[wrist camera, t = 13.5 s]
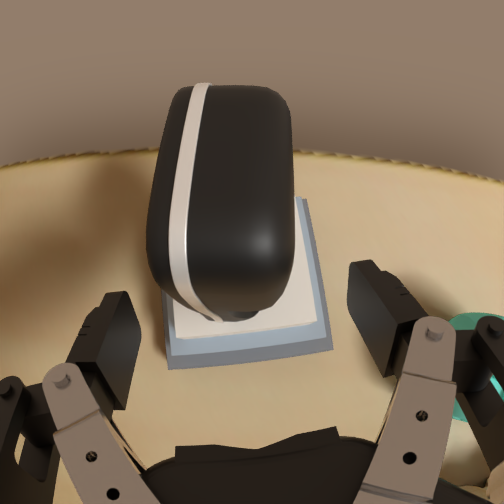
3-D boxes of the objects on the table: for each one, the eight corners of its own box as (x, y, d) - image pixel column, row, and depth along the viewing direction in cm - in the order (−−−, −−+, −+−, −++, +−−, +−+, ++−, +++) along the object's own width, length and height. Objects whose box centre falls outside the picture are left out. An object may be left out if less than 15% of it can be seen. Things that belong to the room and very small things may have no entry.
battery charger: (273, 327, 17) (312, 288, 6) (205, 325, 17) (131, 281, 6) (274, 211, 19) (298, 62, 9) (213, 210, 19) (177, 62, 9)
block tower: (176, 368, 24) (146, 374, 16) (166, 227, 27) (139, 186, 20) (325, 350, 24) (355, 348, 17) (301, 211, 28) (317, 165, 20)
